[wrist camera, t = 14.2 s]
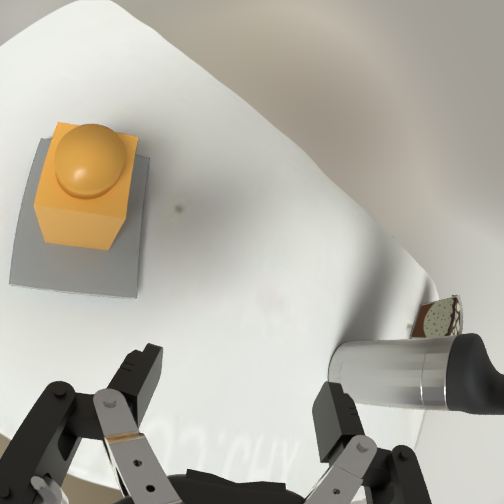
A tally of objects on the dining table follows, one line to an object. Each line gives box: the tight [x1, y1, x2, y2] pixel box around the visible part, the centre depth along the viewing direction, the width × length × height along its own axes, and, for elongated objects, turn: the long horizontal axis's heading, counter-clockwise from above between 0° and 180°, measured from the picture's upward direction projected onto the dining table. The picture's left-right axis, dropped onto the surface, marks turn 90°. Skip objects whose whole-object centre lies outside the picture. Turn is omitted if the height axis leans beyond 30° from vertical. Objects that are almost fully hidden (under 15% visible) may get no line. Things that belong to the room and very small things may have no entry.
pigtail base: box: [9, 138, 150, 299], centre depth 22 cm, size 12×14×6 cm
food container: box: [409, 295, 463, 339], centre depth 51 cm, size 12×6×10 cm, turn 138°
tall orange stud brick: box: [34, 122, 138, 250], centre depth 19 cm, size 6×6×11 cm
